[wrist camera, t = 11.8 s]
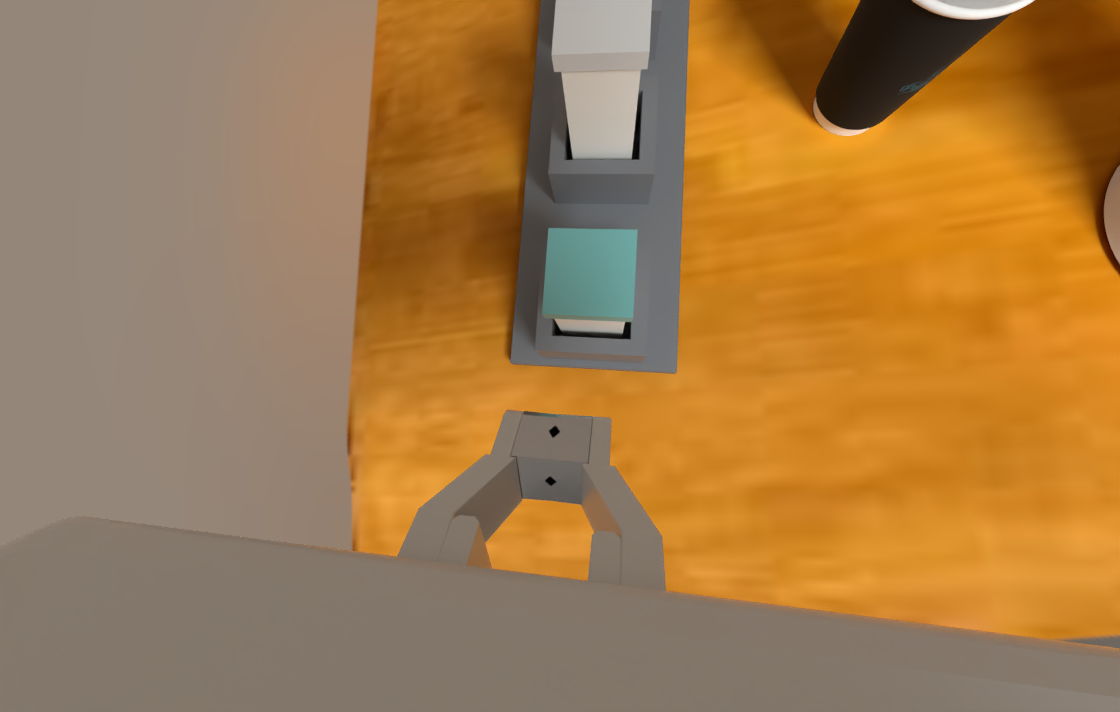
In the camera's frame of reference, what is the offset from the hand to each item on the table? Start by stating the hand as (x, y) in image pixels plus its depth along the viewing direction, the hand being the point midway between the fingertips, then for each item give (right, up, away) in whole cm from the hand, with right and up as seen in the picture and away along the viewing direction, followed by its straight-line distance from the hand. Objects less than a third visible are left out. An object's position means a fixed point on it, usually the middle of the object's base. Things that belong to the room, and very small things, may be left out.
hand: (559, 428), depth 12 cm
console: (+3, +17, +20) cm, 27 cm away
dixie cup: (+22, +21, +19) cm, 36 cm away
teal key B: (+2, +5, +18) cm, 19 cm away
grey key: (+3, +17, +17) cm, 24 cm away
